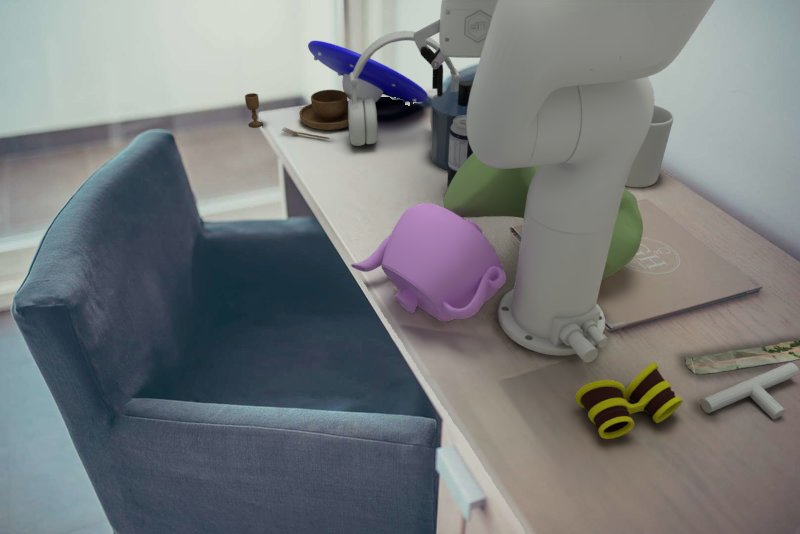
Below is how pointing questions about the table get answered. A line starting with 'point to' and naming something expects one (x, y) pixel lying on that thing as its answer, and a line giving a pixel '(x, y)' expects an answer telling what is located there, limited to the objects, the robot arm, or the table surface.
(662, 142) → the mug
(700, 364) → the bookmark
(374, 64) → the toy spaceship
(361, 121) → the headphones
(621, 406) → the opera glasses
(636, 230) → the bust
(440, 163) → the pot
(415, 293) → the teapot
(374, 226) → the table surface
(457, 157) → the beverage can
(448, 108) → the pot lid
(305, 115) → the place setting
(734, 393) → the pipe joint
